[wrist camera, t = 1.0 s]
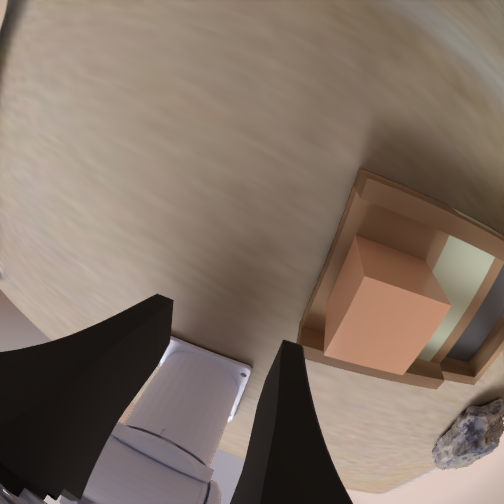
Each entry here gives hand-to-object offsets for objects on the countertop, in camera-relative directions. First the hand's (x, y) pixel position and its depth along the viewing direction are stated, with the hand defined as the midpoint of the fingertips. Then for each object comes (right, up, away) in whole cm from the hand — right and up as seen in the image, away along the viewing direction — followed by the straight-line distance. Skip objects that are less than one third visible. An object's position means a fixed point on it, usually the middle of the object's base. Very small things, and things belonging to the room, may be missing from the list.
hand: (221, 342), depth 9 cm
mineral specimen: (+24, -16, +12) cm, 31 cm away
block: (+8, +1, +6) cm, 10 cm away
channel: (+12, +1, +7) cm, 14 cm away
